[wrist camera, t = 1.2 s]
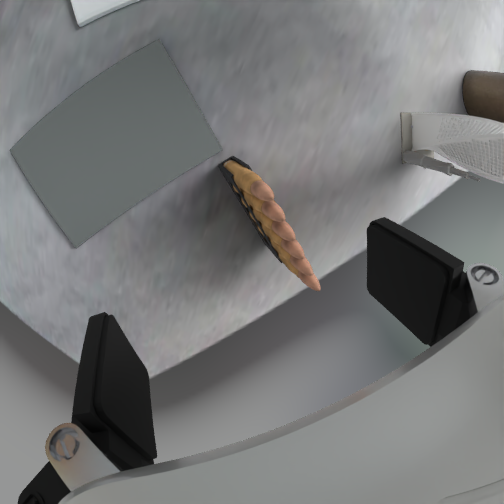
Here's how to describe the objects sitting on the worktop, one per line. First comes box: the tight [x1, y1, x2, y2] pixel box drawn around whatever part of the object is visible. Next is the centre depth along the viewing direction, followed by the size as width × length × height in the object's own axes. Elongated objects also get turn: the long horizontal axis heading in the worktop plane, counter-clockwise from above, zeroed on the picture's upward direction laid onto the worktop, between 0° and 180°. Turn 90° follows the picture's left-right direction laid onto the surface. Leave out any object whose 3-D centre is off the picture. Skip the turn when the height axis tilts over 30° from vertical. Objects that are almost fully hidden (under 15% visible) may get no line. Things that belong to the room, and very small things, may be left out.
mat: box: [10, 39, 222, 248], centre depth 24 cm, size 18×13×1 cm
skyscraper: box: [401, 113, 504, 184], centre depth 22 cm, size 8×8×28 cm
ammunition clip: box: [219, 156, 320, 291], centre depth 26 cm, size 11×2×12 cm, turn 29°
